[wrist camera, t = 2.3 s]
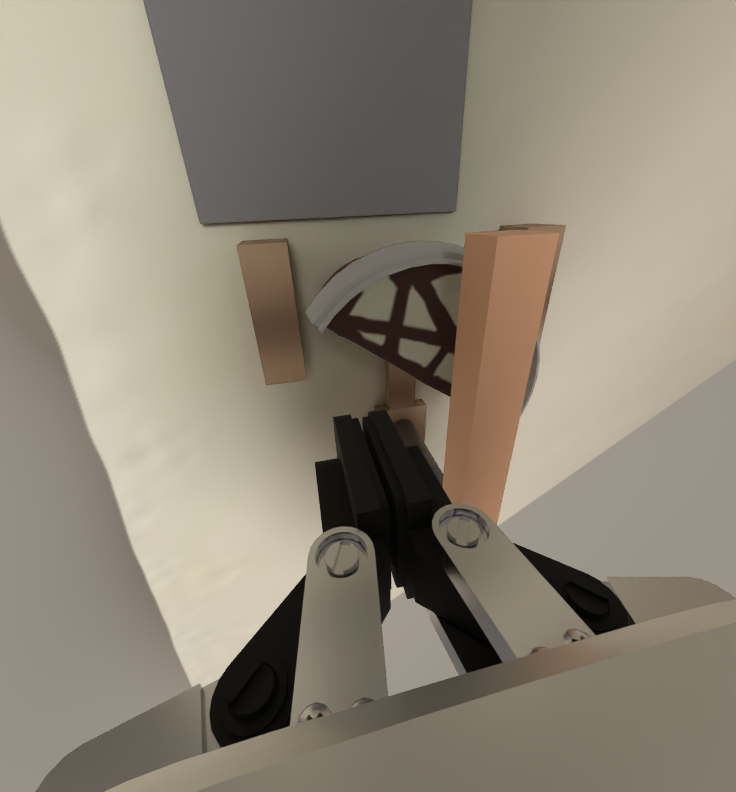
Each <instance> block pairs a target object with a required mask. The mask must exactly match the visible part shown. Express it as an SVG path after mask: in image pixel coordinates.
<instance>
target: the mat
mask: <svg viewBox="0 0 736 792" xmlns="http://www.w3.org/2000/svg"><path fill="white" fill-rule="evenodd" d="M143 1H144V5H145V9H146V13H147V17H148V21H149V25H150V29H151V33H152V36H153V40H154V44H155V48H156V52H157V56H158V60H159V64H160V68H161V72H162V76H163V80H164V84H165V88H166V92H167V96H168V100H169V103H170V107H171V111H172V115H173V119H174V123H175V127H176V131H177V135H178V139H179V143H180V147H181V151H182V155H183V159H184V163H185V166H186V170H187V174H188V178H189V182H190V186H191V190H192V194H193V198H194V202H195V206H196V210H197V214H198V218H199V222H200V224H205V223H225V222H245V221H265V220H285V219H306V218H326V217H346V216H366V215H386V214H407V213H427V212H447V211H456V204H457V191H458V178H459V165H460V152H461V139H462V126H463V113H464V100H465V87H466V74H467V61H468V48H469V35H470V22H471V9H472V0H143Z"/></svg>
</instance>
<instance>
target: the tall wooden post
mask: <svg viewBox="0 0 736 792" xmlns="http://www.w3.org/2000/svg"><path fill="white" fill-rule="evenodd" d="M558 238H559V233H557V232H544V231H530V230H506V231H490V232H473V233H466V234H465V245H464V256H463V267H462V278H461V289H460V300H459V311H458V322H457V332H456V343H455V354H454V365H453V376H452V387H451V398H450V409H449V419H448V430H447V441H446V452H445V463H444V474H443V485H442V487H443V489H444V491H445V492H446V494H447V496H448V498H449V499H450V501H451V503H452V504H455V503H456V504H466V505H470V506H474V507H476V508H478V509H479V510H481V511H483V512H484V513H485V514H486V515H488V516H489V517H490V518H491V519H492V520H493V522H494V523H495V524H496V525H497V521H498V516H499V512H500V507H501V503H502V498H503V493H504V489H505V484H506V479H507V475H508V470H509V465H510V461H511V456H512V451H513V447H514V442H515V437H516V433H517V428H518V424H519V419H520V414H521V410H522V405H523V400H524V396H525V391H526V386H527V382H528V377H529V372H530V368H531V363H532V358H533V354H534V349H535V345H536V340H537V335H538V331H539V326H540V321H541V317H542V312H543V307H544V303H545V298H546V293H547V289H548V284H549V279H550V275H551V270H552V266H553V261H554V256H555V252H556V247H557V242H558Z"/></svg>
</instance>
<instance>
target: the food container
mask: <svg viewBox="0 0 736 792" xmlns="http://www.w3.org/2000/svg"><path fill="white" fill-rule="evenodd" d="M463 256H464V248H463V247H460V246H458V245H453V244H448V243H444V242H439V241H412V242H406V243H400V244H394V245H391V246H388V247H385V248H382V249H379V250H377V251H374V252H371V253H369V254H368V255H366V256H363V257H360V258H357V259H355V260H353V261H351V262H349V263H348V264H346V265H344V266H343V267H342V268H340V269H339V270H338V271H336V272H335V273H334V274H333V275H332V276H331V277H330V279H329V280H328V281H327V282H326V283H325V285H324V286H323V288H322V289H321V291H320V292H319V293H318V294H317V295H316V297H315V298H314V300H313V301H312V302H311V304H310V305H309V307H308V308H307V310H306V311H305V313H306V315H307V316H308V318H309V319H310V321H311V323H312V324H313V325H314V326H316V327H318V329H319V332H320V333H321V334H322V332H323V331H324V330H325V328H326V327H327V328H328V329H330V330H332V331H334V332H335V333H337V334H338V335H339V336H342V337H345V338H347V339H349V340H351V341H353V342H355V343H356V344H358V345H360V346H362V347H363V348H365V349H367V350H369V351H370V352H372V353H374V354H376V355H377V356H379V357H381V358H382V359H384V360H386V361H388V362H389V363H391V364H393V365H395V366H396V367H398V368H400V369H401V370H403V371H405V372H406V373H408V374H410V375H411V376H413V377H415V378H416V379H418V380H420V381H421V382H423V383H425V384H426V385H428V386H430V387H432V388H434V389H436V390H438V391H440V392H442V393H444V394H446V395H448V396H450V397H451V387H452V376H453V365H454V354H455V343H456V332H457V322H458V311H459V300H460V289H461V278H462V267H463ZM539 361H540V358H539V339H538V335H537V340H536V345H535V349H534V354H533V358H532V363H531V368H530V372H529V377H528V382H527V386H526V391H525V396H524V400H523V405H522V410H521V414H520V416H521V415H522V413H523V411H524V410H525V408H526V406H527V403H528V401H529V399H530V397H531V395H532V392H533V389H534V385H535V382H536V379H537V374H538V367H539Z"/></svg>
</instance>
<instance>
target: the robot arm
mask: <svg viewBox="0 0 736 792" xmlns="http://www.w3.org/2000/svg"><path fill="white" fill-rule="evenodd" d="M333 422H334V432H335V441H336V450H337V459H331V460H325V461H319V462H315V468H316V477H317V485H318V494H319V503H320V511H321V520H322V529H323V534H321V535H320V536H319V537H318V538H317V539H316V540H315V541H314V543H313V544H312V546H311V548H310V551H309V555H308V562H307V571H306V575H305V576H304V577H303V578H302V579H301V581H300V582H299V583H298V584H297V585H296V586H295V588H294V589H293V590H292V591H291V592H290V594H289V595H288V596H287V597H286V598H285V600H284V601H283V602H282V603H281V604H280V605H279V607H278V608H277V609H276V610H275V611H274V613H273V614H272V615H271V616H270V617H269V619H268V620H267V621H266V622H265V623H264V624H263V626H262V627H261V628H260V629H259V630H258V632H257V633H256V634H255V635H254V636H253V638H252V639H251V640H250V641H249V642H248V643H247V645H246V646H245V647H244V648H243V649H242V651H241V652H240V653H239V654H238V655H237V657H236V658H235V659H234V660H233V661H232V662H231V664H230V665H229V666H228V667H227V669H226V670H225V672H224V673H223V675H222V676H221V678H220V679H219V680H217V681H215V682H213V683H211V684H209V685H207V686H205V687H203V688H202V686H201V684H198V685H196V686H194V687H192V688H190V689H189V690H186V691H184V692H182V693H181V694H179V695H177V696H175V697H173V698H171V699H169V700H167V701H165V702H163V703H161V704H159V705H157V706H155V707H153V708H151V709H150V710H148V711H146V712H144V713H142V714H140V715H138V716H136V717H134V718H132V719H130V720H128V721H126V722H125V723H123V724H120V725H119V726H117V727H115V728H113V729H111V730H109V731H107V732H105V733H103V734H101V735H99V736H97V737H95V738H94V739H91V740H90V741H88V742H86V743H84V744H82V745H81V746H79V747H78V748H76V749H75V750H73V751H72V752H70V753H69V754H68V755H66V756H65V757H64V758H63V759H62V760H61V761H60V762H59V763H58V764H57V765H56V766H55V767H54V768H53V769H52V770H51V771H50V772H49V773H48V775H47V776H46V777H45V778H44V780H43V781H42V783H41V784H40V786H39V788H38V789H37V790H36V792H736V598H734V597H733V596H732V595H731V594H729V593H728V592H726V591H725V590H723V589H722V588H720V587H718V586H717V585H715V584H712V583H710V582H707V581H705V580H702V579H698V578H692V577H606V578H605V580H604V581H599V580H598V579H596V578H594V577H592V576H590V575H588V574H586V573H584V572H582V571H579V570H577V569H574V568H572V567H570V566H567V565H564V564H562V563H560V562H558V561H555V560H553V559H550V558H548V557H546V556H543V555H541V554H538V553H536V552H534V551H531V550H529V549H526V548H524V547H522V546H519V545H517V544H515V543H512V542H511V540H510V539H509V538H508V537H507V536H506V535H505V534H504V533H503V532H502V531H501V529H500V528H499V527H498V526H497V525H496V524H495V523H494V522H493V520H492V519H491V518H490V517H489V516H488V515H486V514H485V513H484V512H483V511H481V510H479V509H478V508H476V507H474V506H470V505H466V504H456V503H455V504H452V503H451V501H450V499H449V498H448V496H447V494H446V492H445V491H444V489H443V487H442V486H441V484H440V482H439V480H438V479H437V477H436V475H435V474H434V472H433V470H432V468H431V467H430V465H429V463H428V462H427V460H426V458H425V456H424V455H423V453H422V451H421V450H420V448H419V447H418V446H417V445H414V446H408V447H405V445H404V443H403V441H402V439H401V437H400V435H399V434H398V432H397V430H396V428H395V426H394V424H393V422H392V420H391V418H390V416H389V415H388V413H387V411H386V410H385V409H384V410H377V411H371V412H368V417H363V418H362V424H363V431H362V428H361V425H360V423H359V420H358V418H354V419H352V417H351V415H344V416H337V417H333ZM391 571H392V575H393V578H394V582H395V585H396V587H397V588H399V587H404V590H405V593H406V597H407V599H410V598H414V599H415V602H416V603H418V604H420V605H422V606H423V607H425V608H427V612H428V615H429V618H430V620H431V622H432V624H433V626H434V628H435V630H436V632H437V634H438V636H439V638H440V640H441V641H442V643H443V645H444V647H445V649H446V651H447V653H448V655H449V657H450V659H451V661H452V663H453V664H454V667H455V669H456V671H457V672H458V674H459V676H456V677H453V678H449V679H446V680H443V681H439V682H436V683H432V684H429V685H426V686H423V687H419V688H416V689H412V690H409V691H406V692H402V693H399V694H395V695H392V696H389V697H388V690H387V679H386V669H385V657H384V646H383V636H382V626H381V625H382V623H383V621H384V619H385V617H386V615H387V614H388V612H389V610H390V608H391V607H390V606H391V604H390V589H391Z"/></svg>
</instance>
